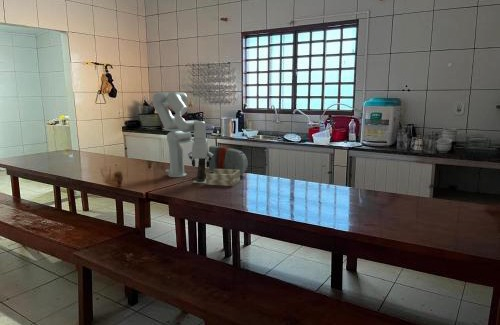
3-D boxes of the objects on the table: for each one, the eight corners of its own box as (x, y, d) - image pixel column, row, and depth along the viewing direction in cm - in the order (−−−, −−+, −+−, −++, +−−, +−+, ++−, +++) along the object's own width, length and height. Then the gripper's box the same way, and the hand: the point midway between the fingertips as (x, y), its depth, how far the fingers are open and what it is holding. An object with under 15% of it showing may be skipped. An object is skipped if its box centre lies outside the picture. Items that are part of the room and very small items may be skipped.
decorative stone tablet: (207, 145, 254) (245, 152, 241) (212, 144, 260) (249, 150, 246) (206, 172, 259) (243, 180, 245) (211, 170, 264) (247, 177, 251)
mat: (192, 182, 232) (192, 182, 232) (197, 179, 241) (197, 178, 241) (205, 183, 230) (205, 182, 230) (210, 179, 239) (210, 179, 239)
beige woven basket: (206, 184, 227) (205, 173, 226) (214, 179, 241) (213, 168, 240) (233, 185, 223) (233, 174, 221) (240, 180, 237) (239, 169, 236)
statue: (195, 180, 237) (193, 150, 234) (205, 179, 240) (204, 149, 236) (197, 182, 231) (196, 151, 227) (208, 181, 234) (207, 150, 230)
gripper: (185, 140, 229) (186, 167, 232) (210, 141, 225) (211, 168, 228) (189, 139, 236) (190, 164, 239) (214, 140, 232) (215, 166, 235)
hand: (200, 166), depth 234 cm, fingers open, 9 cm apart
